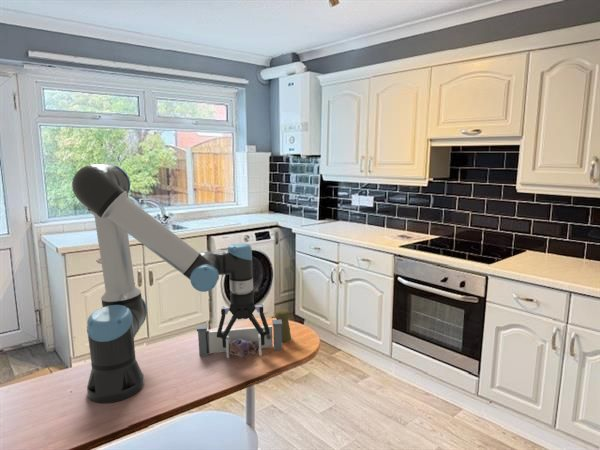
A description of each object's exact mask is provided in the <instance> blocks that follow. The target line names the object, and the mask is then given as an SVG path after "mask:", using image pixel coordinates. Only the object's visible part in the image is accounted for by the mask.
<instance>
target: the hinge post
mask: <svg viewBox="0 0 600 450" xmlns="http://www.w3.org/2000/svg"><path fill="white" fill-rule="evenodd" d="M208 326H209V325H208V324H207V323H206V324H203V323H202V324H197V326H196V332H197V335H198V336H197V337H198V339H197V340H198V353H199V357H204V356H205V357H206V356H208V353H207V337H206V331H208Z"/></svg>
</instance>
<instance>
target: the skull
mask: <svg viewBox="0 0 600 450" xmlns="http://www.w3.org/2000/svg"><path fill="white" fill-rule="evenodd" d="M258 352H259V341H255V342H250V341H248V340H244V339H236V340H234V341H232V342H231V343H230V344H229V354H232V355H233V356H237V357H239V358H245V357H248V356H249V355H250V354H252V355H255V354H256V353H258Z"/></svg>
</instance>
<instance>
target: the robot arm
mask: <svg viewBox="0 0 600 450" xmlns="http://www.w3.org/2000/svg"><path fill="white" fill-rule="evenodd" d="M71 183H72V185H71V186H72V191H73V194H74V196H75V198H76V199H77V200H78V201H79V202H80V203H81V204H82V205H84V206H85V208H87V212H89V214H91V215H93V216H94V222H95V229H96V235H97V242H98V248H99V255H100V256H99V257H100V262H101V263H100V264H101V269H102V276H103V277H102V278H103V282H104V283H103V284H104V290H105V292H104V293H103V295H101V297H100V301H101V307H100V309H95V310H94V311H93V312H91V314H89V316H88V318H87V322H86V323H87V325H86V332H87V337H88V346H89V347H88V348H89V354H90V355H89V357H90V361H91V362H90V363H91V364H90V365H91V370H90V374H89V379H88V383H87V386H86V390H87V398H88V399H89V400H90V401H92V402H95V403H101V404H102V403H103V404H107V403H115V402H119V401H123V400H126V399H128V398H130V397H132V396H134V395H136V394H137V393H138V392H139V391H141V389H142V388H143V386H144V385H145V379H144V377H145V376H144V374H143V372H142V369H141V367H140V366H139V363H138V361H137V359H136V348H135V337H136V335H137V334H138V333H139V330H140V329H141V327H142V326H143V324H145V323H144V322H145V321H146V318H147V315H148V314H147V313H148V307H147V303H146V302H145V300H144V298H143V297H142V291H141V289H140V288H138V287H137V286H136V284H135V275H134V270H133V262H132V253H131V248H130V247H131V246H130V241H129V239H130V238H129V235H130V236H132V238H134V239H135V240H137V242H139V243H140V244H142V245H143V246H144V247H146V248H147V249H149V251H151V252H153V253H154V254H155V255H156V256H158V257H159V258H160V259H162V260H163V261H165V262H166V263H167V264H168V265H170V266H171V267H173V268H174V269H175V270H176V271H178V272H179V273H180V274H181V275H183V276H185V277H186V278H187V279H189V280H190V285H192V286H191V287H192V288H193V289H195V290H196V291H198V292H202V293H205V292H209V291H211V290H213V289H214V288H215V287H216V286H217V283H218V281H219V280H220V276H222V275H223V276H224V275H229V291H230V293H229V296H230V297H229V298H230V301H229V303H230V304H229V306H226V307H225V306H222V307H221V309H220V313H221V314H220V315H221V316H220V320H219V325H218V327H217V330H218V331H217V337H218V338H219V337H220V338H222V341H223V348H226V359H230V353H229V336H227V335H228V333H229V331H230V330H231V329H233V325H235V322H236V321H237V320H249V322H251V324H252V325H253V327H255V328H256V329H257V331H258V332H259V334H258V335H259V351H258V354H259V355H258V356H260V357H261V356H262V348H261V345H264V344H265V341H264V336H265V335H268V334H270V331H269V327H268V326H269V325H268V322H267V319H266V316H265V312H264V305H263V304H260V305H255V300H254V298H255V297H254V291H253V290H254V275H253V274H254V273H253V251H252V246H251V245H250V244H248V243H244V242H236V243H231V244H229V245H228V247H227V250H223V251H220V250H219V251H199V252H198V250H196V249H195V248H193V247H192V246H191V245H189V244H188V243H187V242H186V241H184V240H183V239H182V238H180V237H179V236H178V235H177V234H176V233H174V232H173V231H172V230H170V228H168V227H166V226H165V225H164V224H162V223H161V222H160V221H158V220H157V219H156V218H155V217H153V216H152V215H150V214H149V213H148V212H147V211H145V210H144V209H143V208H142V207H141V206H139V205H138V204H137V203H135V202H134V201H133V200H131V199H130V198H129V192H130V189H131V179H130V176H129V175H128V173H127V172H126V171H125V170H124V169H123V168H121V167H120V166H118V165H117V164H112V163H99V164H98V163H97V164H95V163H94V164H87V165H85V166H83V167H81V168H80V169H79V170H78V171H76V172H75V174H74V176H73V178H72V182H71ZM255 311H256V312H257V313H259V316H260V320H261V322H262V325H261V324H260V323H259V322H258V320H257V319H256V318H255V317H256V316H254V314H253V313H254V312H255ZM228 312H230V313H231V314H232V316H231V318H230V319H229V322H228V323H227V325H226V328H225V329H224V330H225V331H224V333H222V332H221V331H222V330H223V326H224V323H225V319H226V315H228ZM261 326H264V329H265V330H263V329H262V328H261Z"/></svg>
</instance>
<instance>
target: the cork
mask: <svg viewBox="0 0 600 450" xmlns="http://www.w3.org/2000/svg"><path fill="white" fill-rule="evenodd" d="M290 315H291V314H290V312H289V310H288V309H278V310H276V312H275V315H274V316H275V320H282V326H281V331H282V344H286V343H289V342H291V340H292V336H291V335H292V334H291V329H290V324H289V323H290V322H289V319H290Z"/></svg>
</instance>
